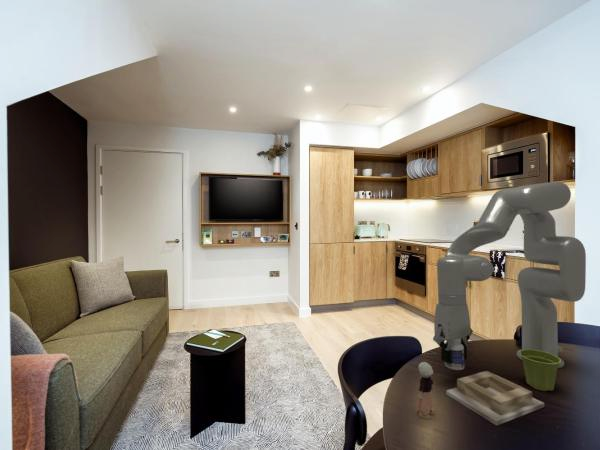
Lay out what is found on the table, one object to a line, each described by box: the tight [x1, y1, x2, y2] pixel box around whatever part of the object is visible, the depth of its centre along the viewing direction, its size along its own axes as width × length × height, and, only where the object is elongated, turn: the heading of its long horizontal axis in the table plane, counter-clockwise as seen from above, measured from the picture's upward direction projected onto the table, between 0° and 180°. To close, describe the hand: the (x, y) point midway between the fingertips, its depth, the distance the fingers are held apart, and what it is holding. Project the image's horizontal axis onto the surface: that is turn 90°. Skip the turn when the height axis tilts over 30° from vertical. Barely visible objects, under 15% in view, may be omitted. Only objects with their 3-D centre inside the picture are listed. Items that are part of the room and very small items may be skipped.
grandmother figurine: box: [416, 361, 436, 420], centre depth 73 cm, size 8×4×13 cm, turn 145°
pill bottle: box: [444, 338, 466, 371], centre depth 88 cm, size 5×5×9 cm
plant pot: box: [519, 349, 562, 392], centre depth 85 cm, size 9×9×9 cm
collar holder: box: [445, 370, 545, 426], centre depth 79 cm, size 18×14×4 cm
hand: (454, 359), depth 88 cm, fingers closed on pill bottle, 5 cm apart
